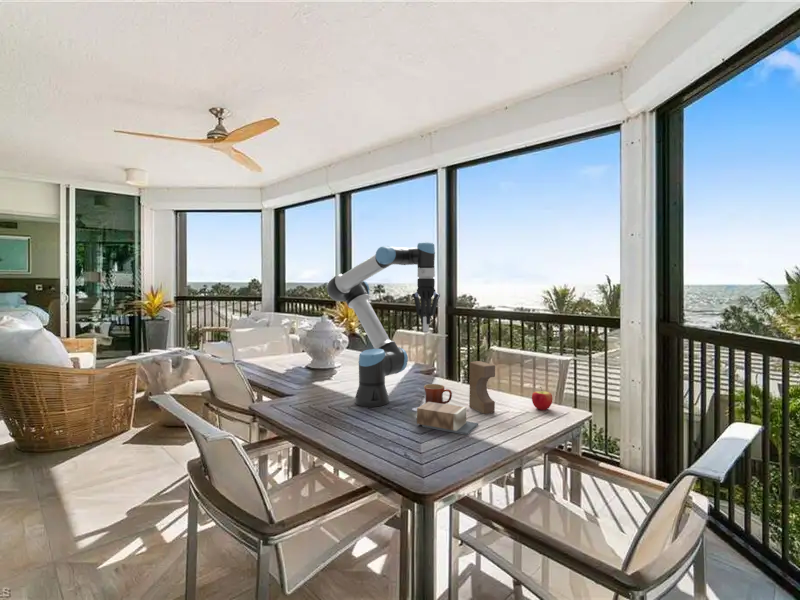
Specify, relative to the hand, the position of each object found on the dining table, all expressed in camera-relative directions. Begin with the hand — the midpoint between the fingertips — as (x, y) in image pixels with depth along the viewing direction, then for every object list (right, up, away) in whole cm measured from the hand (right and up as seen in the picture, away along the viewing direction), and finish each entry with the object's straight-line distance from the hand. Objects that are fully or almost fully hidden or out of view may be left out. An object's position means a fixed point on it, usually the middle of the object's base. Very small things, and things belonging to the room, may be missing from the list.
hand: (425, 331), depth 196 cm
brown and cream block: (-3, -30, -23) cm, 38 cm away
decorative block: (+23, -33, -7) cm, 41 cm away
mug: (+4, -33, -8) cm, 35 cm away
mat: (+8, -34, -27) cm, 44 cm away
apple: (+49, -33, -6) cm, 60 cm away
